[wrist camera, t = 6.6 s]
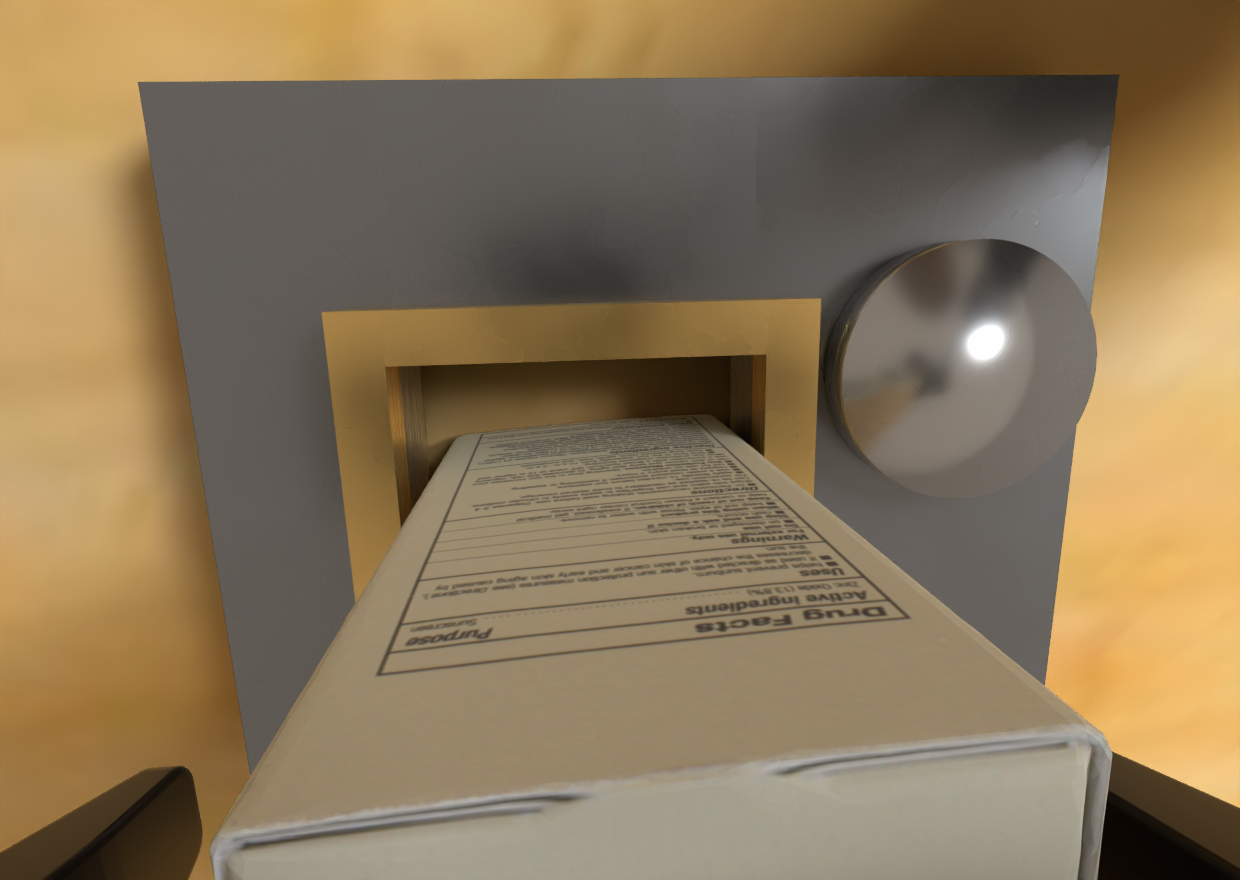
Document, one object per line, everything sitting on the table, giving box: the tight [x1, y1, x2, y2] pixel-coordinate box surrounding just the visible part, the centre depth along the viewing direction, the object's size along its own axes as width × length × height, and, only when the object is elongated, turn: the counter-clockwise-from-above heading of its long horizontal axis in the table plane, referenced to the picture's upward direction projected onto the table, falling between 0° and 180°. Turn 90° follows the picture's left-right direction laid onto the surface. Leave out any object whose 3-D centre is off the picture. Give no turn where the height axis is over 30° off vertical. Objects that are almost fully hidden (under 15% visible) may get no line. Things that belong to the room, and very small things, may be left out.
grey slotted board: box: [138, 75, 1119, 775], centre depth 15 cm, size 18×15×3 cm
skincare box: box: [210, 415, 1113, 880], centre depth 11 cm, size 6×4×12 cm
